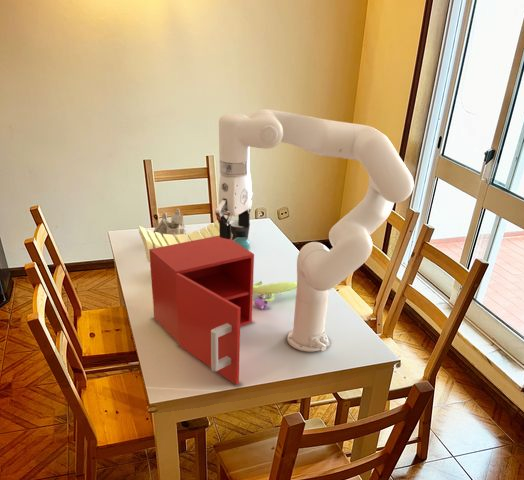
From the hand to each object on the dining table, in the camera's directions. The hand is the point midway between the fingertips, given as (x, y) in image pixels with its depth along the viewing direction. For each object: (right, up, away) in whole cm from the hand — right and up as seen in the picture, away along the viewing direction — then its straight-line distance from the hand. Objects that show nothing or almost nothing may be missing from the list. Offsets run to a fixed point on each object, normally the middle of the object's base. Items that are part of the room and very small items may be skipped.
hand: (234, 232), depth 148 cm
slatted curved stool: (-21, -4, +59) cm, 63 cm away
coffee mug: (-2, +13, +86) cm, 87 cm away
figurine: (+15, -14, +46) cm, 50 cm away
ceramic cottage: (-31, +12, +82) cm, 89 cm away
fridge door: (-10, -37, +8) cm, 39 cm away
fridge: (-12, -22, +31) cm, 40 cm away
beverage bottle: (-1, -6, +57) cm, 57 cm away
